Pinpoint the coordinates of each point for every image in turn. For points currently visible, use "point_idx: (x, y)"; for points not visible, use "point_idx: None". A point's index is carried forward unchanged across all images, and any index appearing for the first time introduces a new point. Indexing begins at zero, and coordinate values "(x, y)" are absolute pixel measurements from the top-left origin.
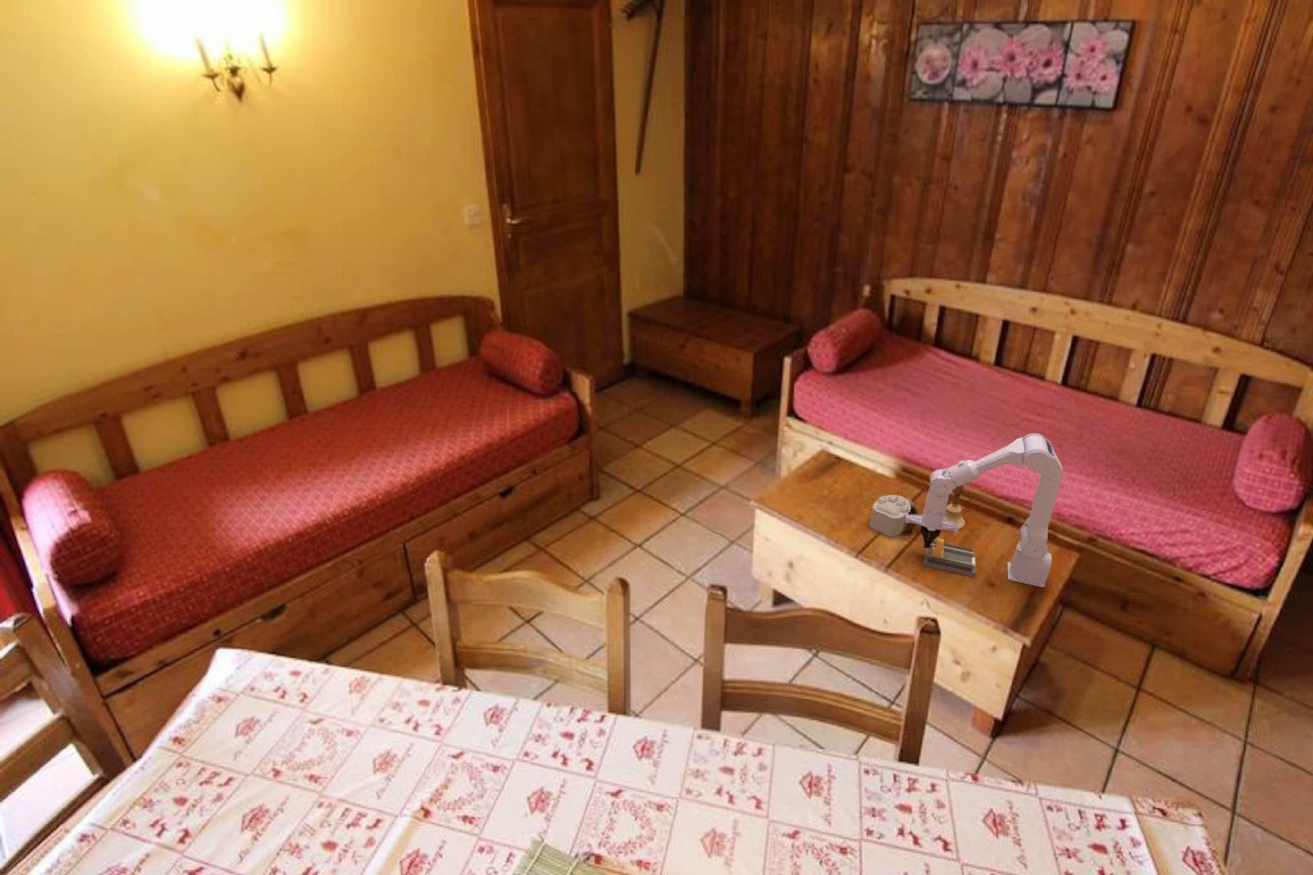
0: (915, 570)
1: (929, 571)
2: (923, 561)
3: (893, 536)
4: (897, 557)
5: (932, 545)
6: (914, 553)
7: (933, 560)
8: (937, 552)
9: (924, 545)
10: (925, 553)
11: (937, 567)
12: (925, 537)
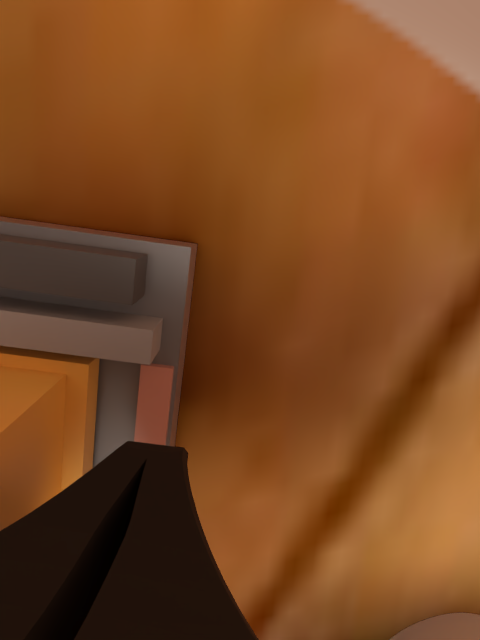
0: (284, 137)
1: (132, 157)
2: (189, 311)
3: (440, 618)
4: (450, 324)
5: None
6: (269, 425)
7: (70, 248)
8: (6, 387)
9: (182, 462)
10: (166, 400)
11: (42, 224)
12: (171, 584)
